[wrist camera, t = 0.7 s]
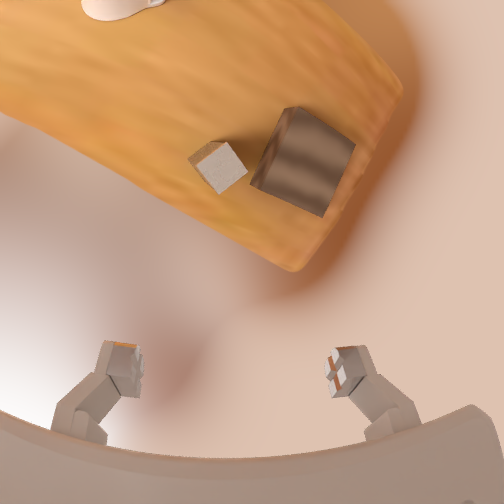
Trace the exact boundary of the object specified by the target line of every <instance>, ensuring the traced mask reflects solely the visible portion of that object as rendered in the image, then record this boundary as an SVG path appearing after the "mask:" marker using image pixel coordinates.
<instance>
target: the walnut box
mask: <svg viewBox="0 0 504 504" xmlns="http://www.w3.org/2000/svg"><path fill="white" fill-rule="evenodd" d="M355 145H356V144H355V143H353V142H352V141H350V140H349V139H348V138H346V137H345V136H343V135H342V134H340V133H339V132H337V131H336V130H335V129H333V128H332V127H330V126H329V125H327V124H325V123H324V122H322V121H321V120H319V119H318V118H316V117H315V116H313V115H311V114H310V113H308V112H307V111H305V110H303V109H302V108H300V107H293V108H286V109H284V111H283V113H282V115H281V117H280V119H279V121H278V124H277V126H276V128H275V130H274V132H273V134H272V136H271V138H270V141H269V143H268V145H267V147H266V149H265V151H264V154H263V156H262V158H261V160H260V162H259V165H258V167H257V169H256V171H255V173H254V176H253V178H252V180H251V182H250V185H252V186H254V187H255V188H257V189H259V190H261V191H264V192H266V193H268V194H271V195H273V196H275V197H277V198H280V199H282V200H284V201H286V202H289V203H291V204H293V205H295V206H298V207H300V208H302V209H304V210H306V211H308V212H311V213H313V214H315V215H317V216H319V217H321V218H323V216H324V214H325V211H326V209H327V207H328V205H329V203H330V201H331V199H332V196H333V194H334V192H335V190H336V188H337V186H338V183H339V181H340V179H341V177H342V175H343V172H344V170H345V168H346V166H347V163H348V161H349V159H350V156H351V154H352V152H353V150H354V147H355Z"/></svg>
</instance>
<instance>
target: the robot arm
mask: <svg viewBox="0 0 504 504" xmlns="http://www.w3.org/2000/svg"><path fill="white" fill-rule="evenodd" d="M164 2H165V0H81V4H82V8H83V10H84V12H85V13H86V14H87V15H88V16H90V17H92V18H94V19H97V20H103V21H112V20H118V19H122V18H126V17H129V16H131V15H133V14H135V13H137V12H139V11H141V10H143V9H145V8H149V7H154V6H159V5H161V4H163V3H164ZM331 355H332V356H330V357H328V358H327V360H326V362H325V374H326V377H327V378H328V379H329V380H330V384H329V389H330V393H331V397H332V398H337V397H345V396H349V398H350V399H351V401H352V402H353V403H354V404H355V405H356V406H357V407H358V408H359V409H360V410H361V411H362V413H363V414H364V415H365V416H366V417H367V418H368V419H369V420H370V421H371V422H372V424H371V425H370V426H368V427H367V428H366V429H365V431H364V434H365V437H366V441H365V442H361V443H357V444H352V445H348V446H343V447H338V448H333V449H328V450H321V451H315V452H308V453H301V454H292V455H283V456H271V457H255V458H196V457H181V456H170V455H160V454H152V453H145V452H138V451H132V450H126V449H121V448H116V447H111V446H106V444H107V436H108V435H107V433H106V432H105V431H104V430H103V429H102V428H101V427H100V426H99V425H98V424H99V423H100V422H101V421H102V419H103V418H104V417H105V416H106V415H107V413H108V412H109V411H110V410H111V409H112V407H113V406H114V405H115V404H116V403H117V401H118V400H119V399H120V398H121V396H125V397H134V398H140V391H141V382H140V380H139V379H140V378H141V377H142V376H143V372H144V360H143V356H142V355H141V354H140V347H139V345H136V344H127V343H120V342H113V341H106V340H105V341H104V342H103V344H102V347H101V350H100V353H99V357H98V360H97V364H96V367H95V371H94V373H92V372H91V373H90V374H89V375H88V376H86V377H85V378H84V379H83V380H82V381H81V382H80V383H79V384H78V385H77V386H75V387H74V388H73V389H72V390H71V391H70V392H69V393H68V394H67V395H66V396H65V397H64V398H63V399H61V400H60V401H59V402H58V403H57V406H56V409H55V413H54V417H53V421H52V425H51V430H48V429H46V428H43V427H40V426H37V425H35V424H32V423H29V422H27V421H24V420H22V419H19V418H17V417H15V416H12V415H10V414H8V413H6V412H4V411H2V410H0V504H504V458H503V454H502V450H501V446H500V442H499V439H498V435H497V432H496V429H495V426H494V424H493V422H492V420H491V418H490V417H489V416H488V415H487V414H486V413H485V412H483V411H482V410H481V409H479V408H478V407H476V406H475V405H467V406H465V407H463V408H461V409H458V410H456V411H454V412H452V413H450V414H447V415H445V416H442V417H440V418H438V419H435V420H432V421H430V422H427V423H424V424H421V421H420V418H419V415H418V413H417V410H416V407H415V405H414V402H413V401H412V400H411V399H409V398H408V397H407V396H406V395H405V394H403V393H402V392H401V391H400V390H399V389H397V388H396V387H395V386H394V385H393V384H391V383H390V382H389V381H388V380H387V379H386V378H384V377H383V376H382V375H381V374H377V372H376V369H375V366H374V364H373V362H372V359H371V356H370V354H369V351H368V349H367V347H366V346H365V345H360V346H348V347H338V348H334V349H332V351H331Z"/></svg>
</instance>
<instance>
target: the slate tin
mask: <svg viewBox="0 0 504 504" xmlns="http://www.w3.org/2000/svg"><path fill="white" fill-rule="evenodd" d="M188 161H189V162H190V163H191V164H192V166H193V167H194V168H195V169H196V171H197V172H198V173H199V175H200V176H201V177H202V178H203V180H204V181H205V182H206V183H207V184H209V185H210V186H211V187H212V188H213V189H214V190H215V191H216V192H217V194H218V195H219V194H220V193H222V192H223V191H224V190H225V189H227V188H228V187H229V186H231V185H232V184H233V183H234V182H236V181H237V180H238V179H240V178H241V177H242V176H243V175H245V174H246V173H247V172H248V171H247V169H246V168H245V167H244V165H243V164H242V162H241V161H240V159H239V158H238V157H237V155H236V154H235V152H234V151H233V150H232V148H231V147H230V146H229V144H228V143H227V142H225V143H220V142H209V143H208V144H207V145H205V146H204V147H203V148H201V149H200V150H199V151H197V152H196V153H195V154H194V155H192V156H191V157H190V158H188Z"/></svg>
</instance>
